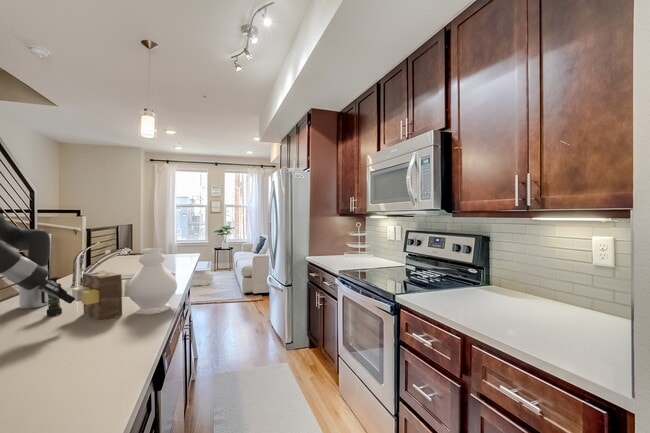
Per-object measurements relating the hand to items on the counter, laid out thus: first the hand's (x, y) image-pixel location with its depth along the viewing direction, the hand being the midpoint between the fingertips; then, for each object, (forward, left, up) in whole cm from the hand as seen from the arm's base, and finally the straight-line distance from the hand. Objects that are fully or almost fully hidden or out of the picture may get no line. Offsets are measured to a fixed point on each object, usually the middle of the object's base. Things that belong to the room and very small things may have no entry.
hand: (72, 300), depth 110 cm
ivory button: (-8, +7, -2) cm, 11 cm away
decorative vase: (+7, +25, -9) cm, 27 cm away
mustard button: (0, +7, -2) cm, 7 cm away
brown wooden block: (-4, +11, -9) cm, 15 cm away
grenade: (-21, +1, -9) cm, 23 cm away
